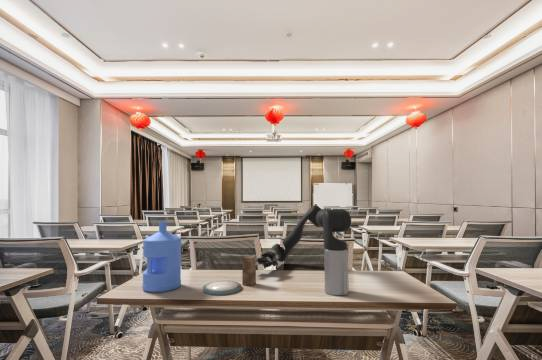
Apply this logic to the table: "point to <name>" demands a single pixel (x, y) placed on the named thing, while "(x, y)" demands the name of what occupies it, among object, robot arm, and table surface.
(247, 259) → the walnut block
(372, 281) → the table surface
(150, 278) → the water jug
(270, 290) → the table surface
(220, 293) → the teal dish
